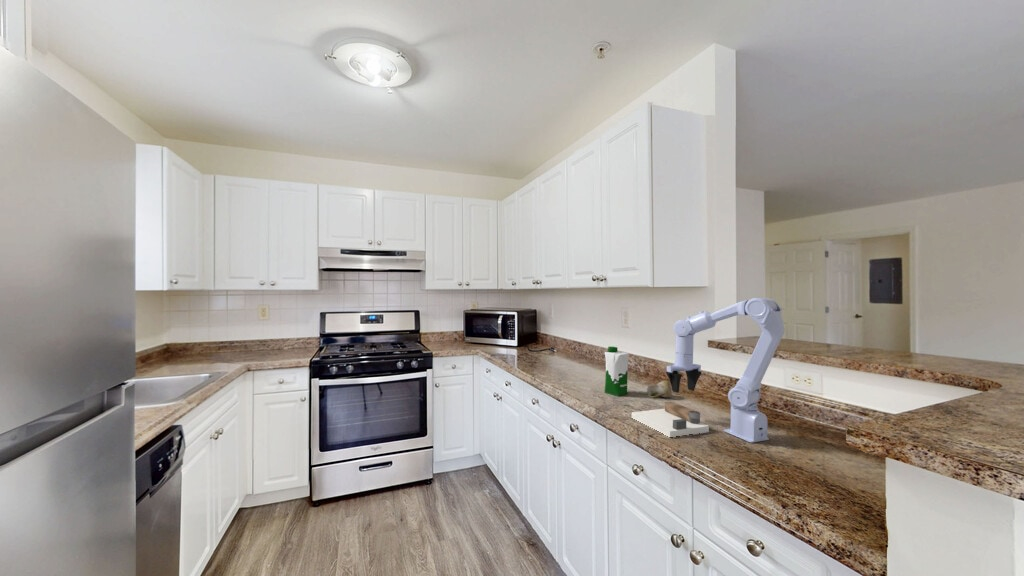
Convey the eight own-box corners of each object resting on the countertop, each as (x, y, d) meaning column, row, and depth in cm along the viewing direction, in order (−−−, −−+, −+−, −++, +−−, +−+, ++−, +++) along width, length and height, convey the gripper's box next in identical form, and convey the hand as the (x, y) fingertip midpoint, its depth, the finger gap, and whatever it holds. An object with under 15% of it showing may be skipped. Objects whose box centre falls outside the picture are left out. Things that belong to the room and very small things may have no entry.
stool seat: (708, 432, 117) (709, 418, 117) (669, 438, 111) (670, 423, 111) (667, 413, 133) (667, 401, 133) (631, 418, 128) (631, 405, 128)
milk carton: (612, 389, 165) (613, 345, 165) (630, 393, 159) (631, 348, 159) (601, 392, 160) (602, 347, 160) (619, 397, 153) (620, 350, 153)
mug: (646, 392, 162) (658, 374, 161) (666, 406, 156) (678, 387, 156) (642, 392, 156) (654, 373, 155) (662, 406, 150) (676, 386, 150)
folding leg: (702, 422, 119) (702, 413, 119) (694, 423, 117) (694, 414, 117) (671, 409, 131) (671, 401, 131) (664, 410, 130) (664, 402, 130)
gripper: (689, 350, 137) (688, 386, 137) (660, 352, 131) (659, 389, 131) (706, 353, 130) (705, 391, 130) (676, 355, 125) (674, 395, 125)
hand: (683, 390), depth 130 cm, fingers open, 7 cm apart
